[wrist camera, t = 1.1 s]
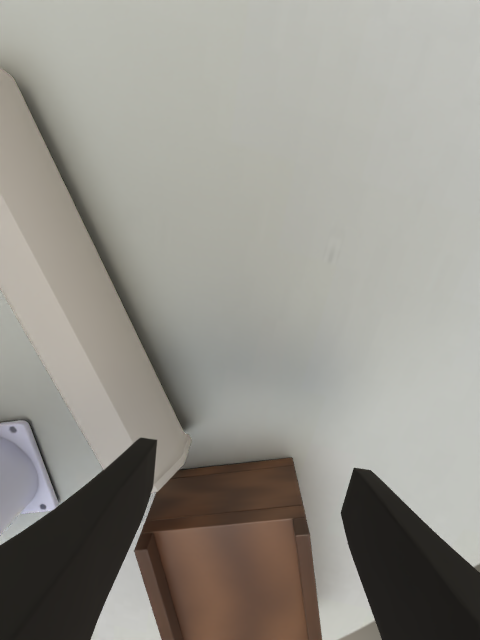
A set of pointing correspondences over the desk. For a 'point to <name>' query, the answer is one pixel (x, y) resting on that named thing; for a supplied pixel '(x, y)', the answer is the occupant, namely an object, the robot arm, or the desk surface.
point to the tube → (74, 303)
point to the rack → (230, 555)
